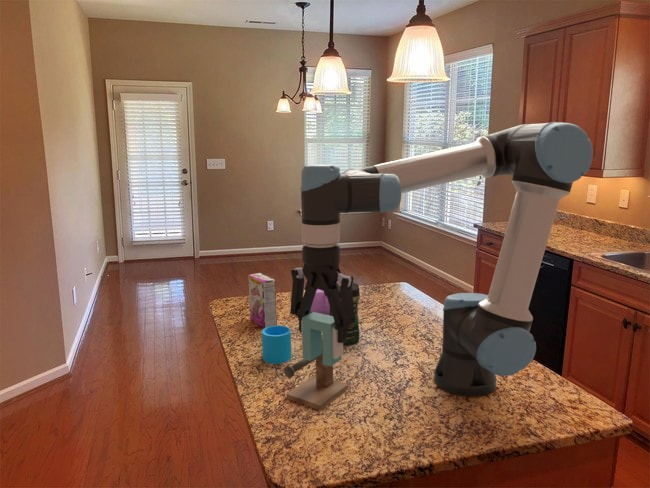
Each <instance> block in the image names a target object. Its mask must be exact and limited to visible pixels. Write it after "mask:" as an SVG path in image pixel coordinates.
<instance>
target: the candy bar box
mask: <svg viewBox="0 0 650 488" xmlns="http://www.w3.org/2000/svg"><path fill="white" fill-rule="evenodd" d="M247 278H248V279H247V281H248V283H247V285H248V296H249V299H248V301H249V316H250V317H249V319H250V321H252V322H253V323H255V324H256V325H258V326H259V327H260V328H262V329H265V328H267V327H270V326H278V317H277V297H276V296H277V295H276V293H277V290H276V280H275V279H273V278H271V277H269V276H268V275H265V274H263V273H261V272H256V273H251V274H248V275H247Z"/></svg>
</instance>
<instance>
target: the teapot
mask: <svg viewBox="0 0 650 488" xmlns="http://www.w3.org/2000/svg"><path fill="white" fill-rule="evenodd" d="M312 312H316V313H320V314H325V315H329V314H330V305H329V302H328V299H327V296H325V294H324V291H322V290H320V289H317V291H316V294H315V297H314V300H313V303H312V306H311V309H310V312H309V314H310V313H312Z"/></svg>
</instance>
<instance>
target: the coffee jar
mask: <svg viewBox="0 0 650 488" xmlns="http://www.w3.org/2000/svg"><path fill="white" fill-rule="evenodd" d="M337 285H338V289H339V291H338V293H339V297H340V300H341V295H340V286H339V282H338V283H337ZM330 290H332V288H331V289H330ZM352 295H353V304H354V314H355V323H354V324H352V325H350V326H349V327H346V341H345V342H343V346H346V345H352V344H356V343H358V342H359V341H360V339H361V337H360V336H361V334H360V326H359V324H360V323H359V315H358V314H359V313H358V312H359V311H358V309H359V308H358V305H359V300H360V298H361V293H360V286H359V284H358V283H357V282H354V281H353V284H352ZM329 316H333V315H332V312H331V308H330V314H329Z"/></svg>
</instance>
